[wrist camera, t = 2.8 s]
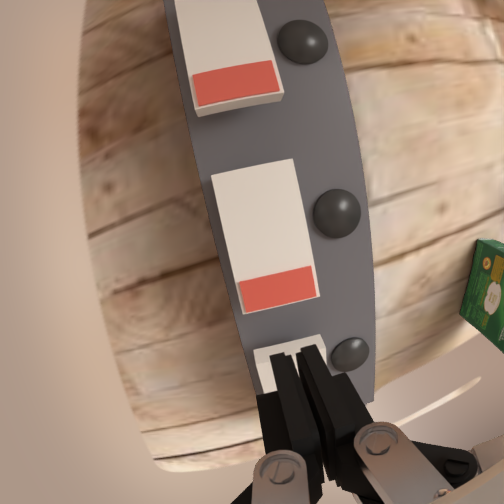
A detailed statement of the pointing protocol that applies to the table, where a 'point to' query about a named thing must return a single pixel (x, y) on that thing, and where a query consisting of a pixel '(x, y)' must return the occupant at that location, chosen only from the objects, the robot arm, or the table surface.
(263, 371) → the rocker
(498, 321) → the coffee box
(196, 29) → the rocker
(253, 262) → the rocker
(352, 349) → the rocker switch panel
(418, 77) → the table surface
